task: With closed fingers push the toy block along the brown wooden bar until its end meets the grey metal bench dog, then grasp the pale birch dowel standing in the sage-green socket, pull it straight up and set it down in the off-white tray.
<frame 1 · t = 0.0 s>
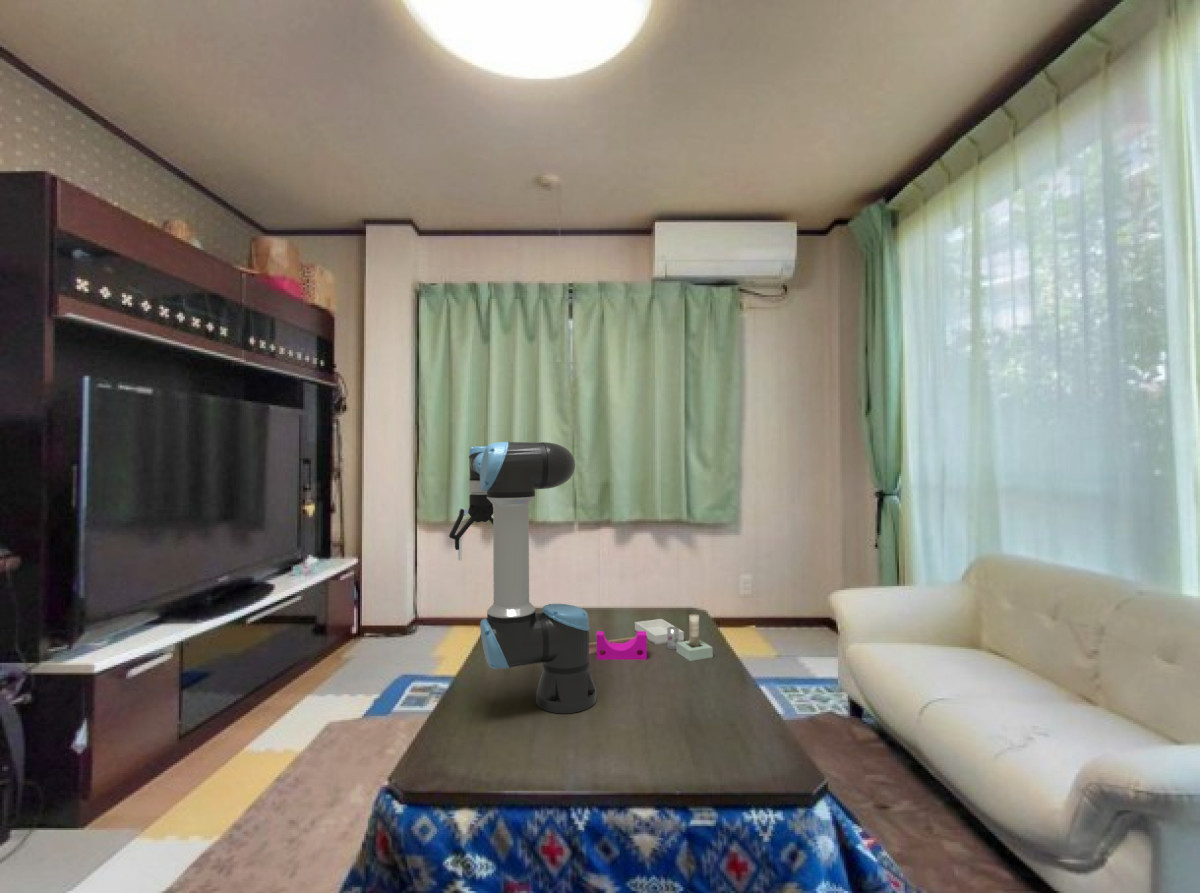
hand: (481, 558, 179), 28 cm above the table, fingers open, 13 cm apart
brown wooden bar: (614, 649, 172), on the table
dowel: (694, 635, 168), in the socket
socket: (694, 654, 168), on the table
toy block: (621, 657, 167), on the table
bench dog: (673, 647, 174), on the table
tray: (658, 635, 186), on the table
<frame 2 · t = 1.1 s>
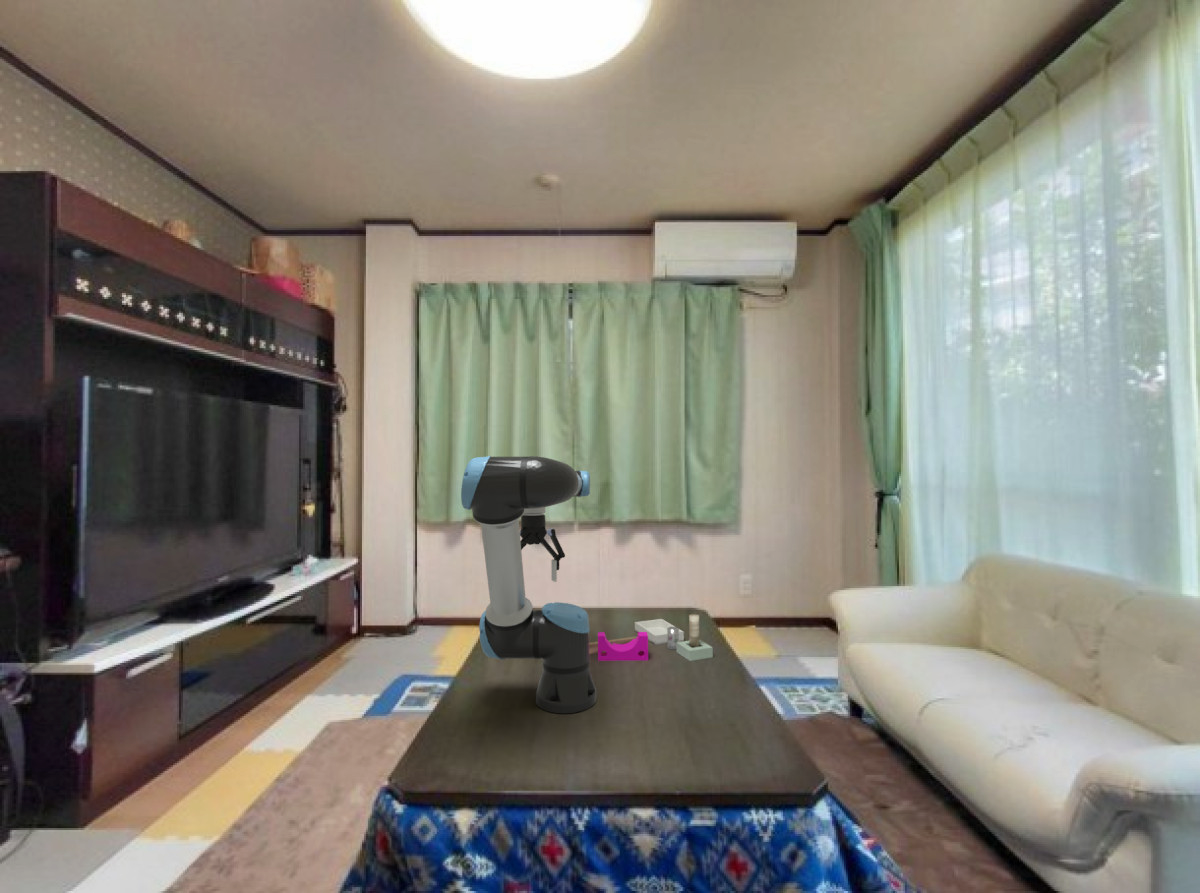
hand: (533, 582, 170), 22 cm above the table, fingers open, 13 cm apart
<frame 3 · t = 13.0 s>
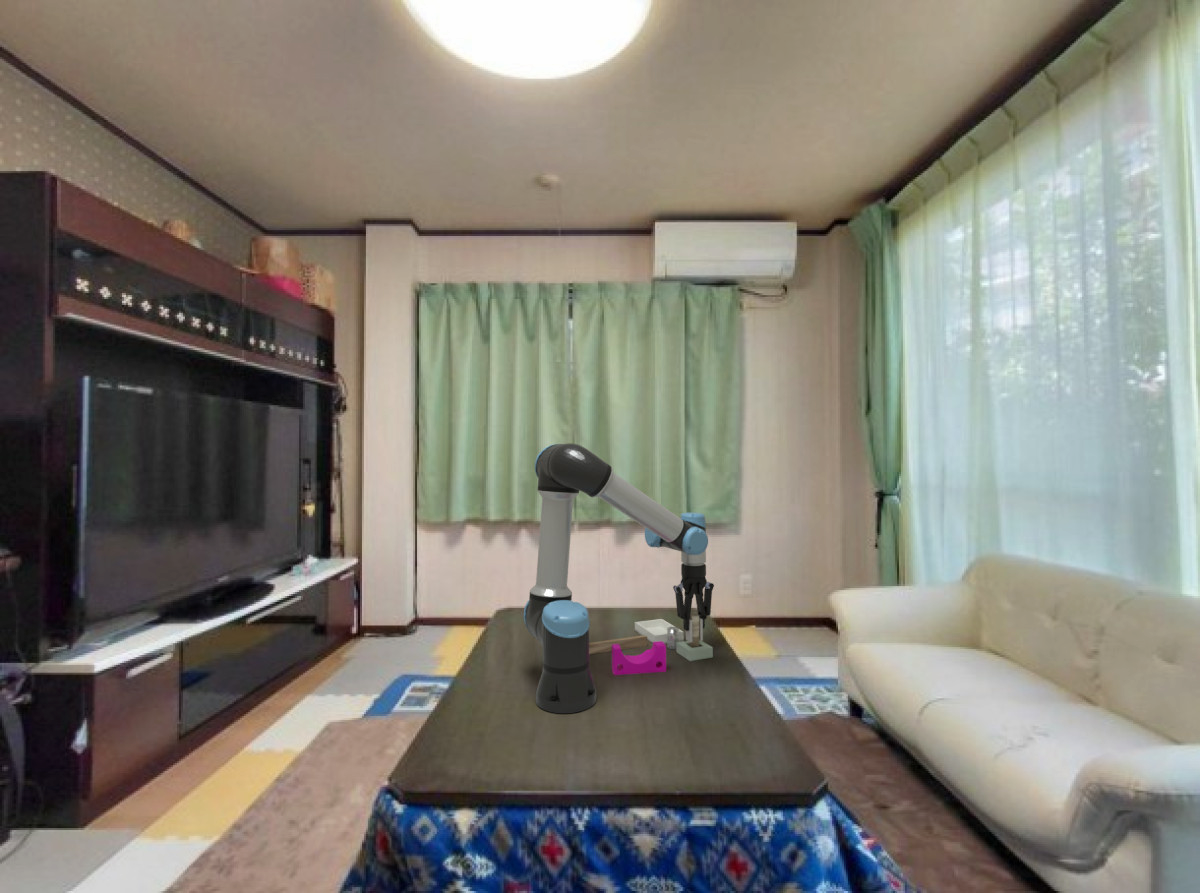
hand: (694, 639, 168), 5 cm above the table, fingers closed on dowel, 3 cm apart
dowel: (694, 635, 168), in the socket, touching gripper
toy block: (637, 670, 157), on the table
when the fingers open (7 cm above the table, at t = 19.0 s): dowel drops 2 cm, resting on tray.
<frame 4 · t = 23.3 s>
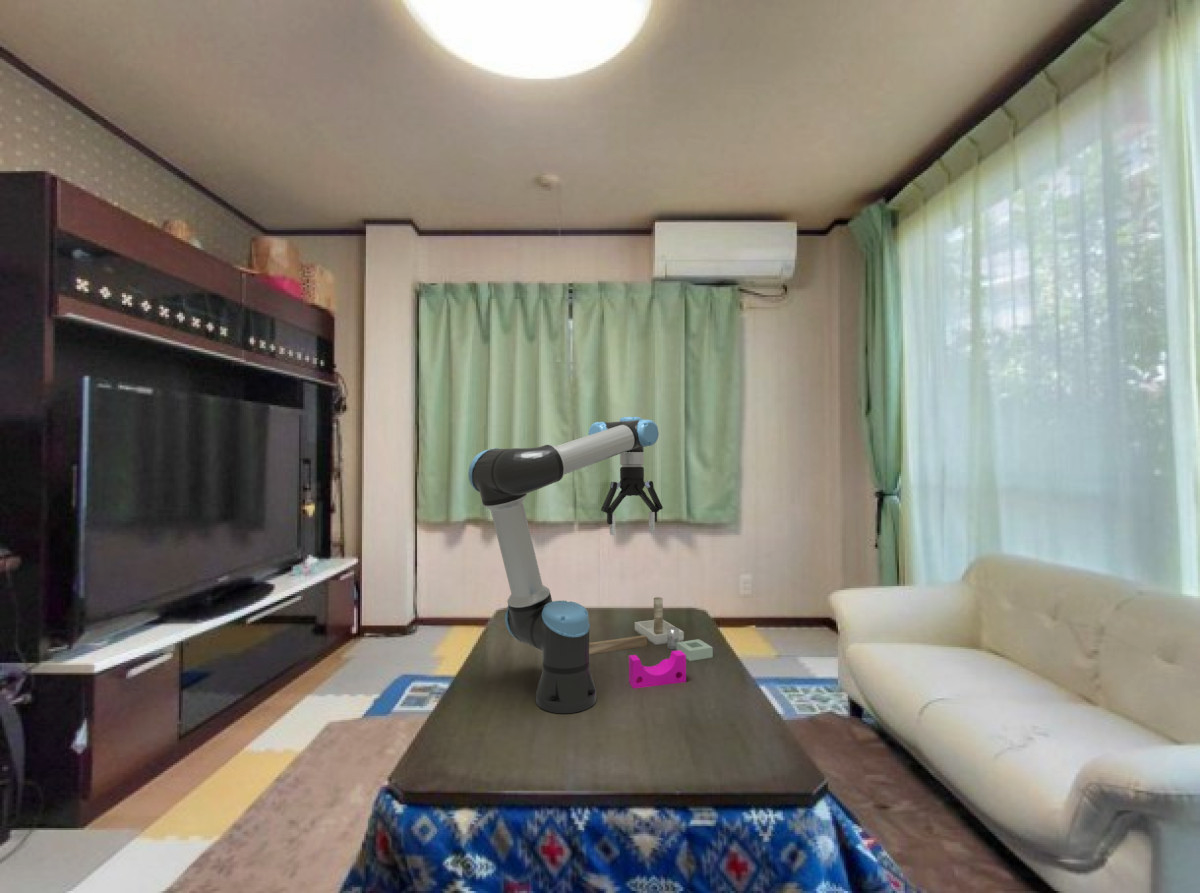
hand: (632, 533, 172), 37 cm above the table, fingers open, 13 cm apart
dowel: (658, 616, 186), in the tray, point 7 cm above the table
toy block: (655, 682, 149), on the table
at the end: toy block moved 21.0 cm from its start; dowel inside the target area on the tray (0.1 cm from its centre), point 6.6 cm above the tray's base; the gripper is holding nothing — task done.
